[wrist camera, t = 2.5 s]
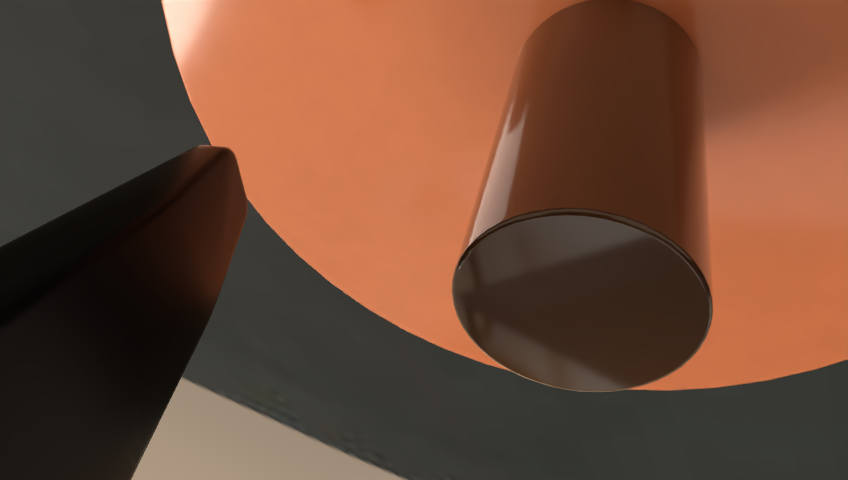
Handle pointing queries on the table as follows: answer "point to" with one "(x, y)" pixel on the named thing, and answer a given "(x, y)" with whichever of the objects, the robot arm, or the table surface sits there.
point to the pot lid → (551, 173)
